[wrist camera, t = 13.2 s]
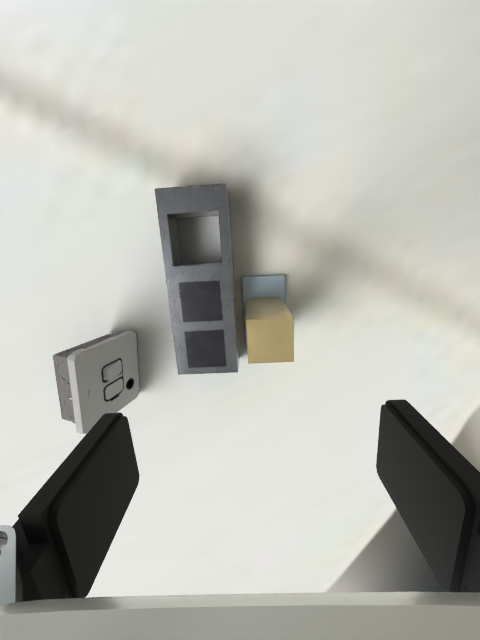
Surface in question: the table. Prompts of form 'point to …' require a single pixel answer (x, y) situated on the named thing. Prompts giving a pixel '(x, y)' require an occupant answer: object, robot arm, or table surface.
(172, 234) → the rail
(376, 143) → the table surface
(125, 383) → the electrical switch
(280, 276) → the rubber mat
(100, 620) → the robot arm
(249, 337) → the brass peg
